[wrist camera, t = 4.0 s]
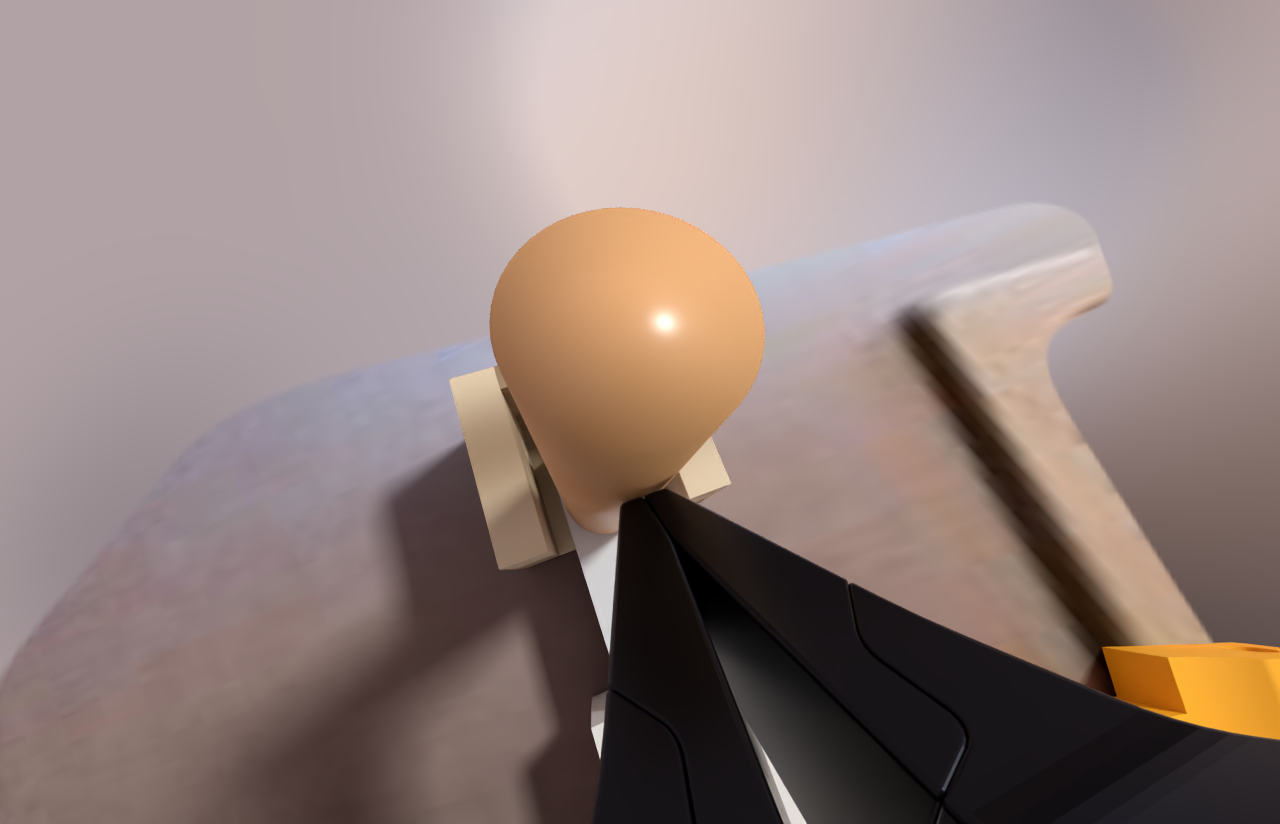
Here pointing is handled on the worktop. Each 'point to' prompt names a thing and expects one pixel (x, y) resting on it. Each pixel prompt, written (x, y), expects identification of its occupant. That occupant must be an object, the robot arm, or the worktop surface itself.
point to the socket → (536, 474)
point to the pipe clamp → (1203, 684)
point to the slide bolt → (622, 361)
